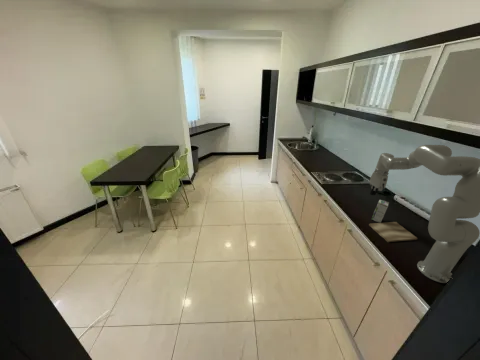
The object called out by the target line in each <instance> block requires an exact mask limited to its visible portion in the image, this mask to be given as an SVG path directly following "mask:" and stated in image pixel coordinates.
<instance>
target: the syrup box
mask: <svg viewBox="0 0 480 360" xmlns="http://www.w3.org/2000/svg"><path fill="white" fill-rule="evenodd" d="M389 204H390V202H389V201H386V200H383V199H379V200H378V202H377V205H376V207H375V209H374V211H373V215H372V217H371V220H372V221H374V222H375V223H382V221H383V219H384V217H385V214H386V212H387V210H388V207H389Z"/></svg>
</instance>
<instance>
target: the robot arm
mask: <svg viewBox="0 0 480 360" xmlns="http://www.w3.org/2000/svg"><path fill="white" fill-rule="evenodd" d="M452 154H453V152H452V149H451V147H449V146H448V145H444V144H424V145H423V144H422V145H420V146H418V147H416V148H415V149H414V151H412V152H411V153H409V154H408V155H409V156H406V157H395V155H394V154H392V153H387V152H384V153H381V154H380V155H379V158H378V161H377V164H376V166H375V168H374V171H373V172H372V174H371V175H370V176H371V177H370V178H369V181H368V182H369V185H370V188H371V191H370V193H369V194H370V195H371V196H376V195H377V193H378V191H379V192H382V191H383V189H386V186H387V184H388V181H389V180H388V178H389V171H390V170H393V171H394V170H398V171H399V170H402V171H403V170H404V171H405V170H410V169H416V168H419V167H421V166H423V167H425V168H426V169H427V170H429V171H431V172H432V173H434V174H436V175H439V176H446V177H447V176H460V177H461V178H460V179H459V180H458V182H457V183H456V185H455V186H454V191H453V192H454V193H453V194H452V196H443V197H440V198H438V199H437V198H436V200H435V201H434V202H433V203H432V205H431V206H432V207H431V211H430V214H429V220H428V226H427V229H428V233H429V236H430V237H431V238H432V239H434V240H435V242H434V243H433V244H432V247H431V248H430V250H429V252H428V254H427V255H426V256H425V258H424V260H419V261H418V262H417V264H416V266H417V269H418V270H419V271H420V272H421V274H422V275H423V276H425V277H426V278H428V279H430V280H432V281H435V282H437V283H441V284H448V283H447V282H448V281H449V280H450V278H452V276H453V273H452V272H451V271H453V269H454V267H455V266H456V265H457V263H458V262H459V260H460V259H461V257H462V256H463V255H464V254H465V252H467V249H469V248H470V247H471V246H472V245H473V244H474V243H476V241H477V240H478V239H479V237H480V229H479V227H478V226H477V225H476V223H474V222H471V221H469V220H466V219H474V218H476V217H478V216H479V215H480V158H477V157H474V156H473V157H472V156H463V155H462V156H460V155H459V156H452Z"/></svg>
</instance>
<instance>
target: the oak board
mask: <svg viewBox="0 0 480 360" xmlns="http://www.w3.org/2000/svg"><path fill="white" fill-rule="evenodd" d="M368 226H369V227H371V228H372V230H373V231H375V232H376V233H377V234H378V235H379V236H380V237H381V238H383V240H385V241H386V242H387V243H391V242H403V241H417V240H418V237H417V236H415V235H414V234H413V233H411V232H410V231H409V230H407V229H406V228H404V227H403V226H402V225H400V224H399V223H398V222H397V221H390V222H387V221H386V222H381V223H379V222H375V223H374V222H373V223H369V224H368Z"/></svg>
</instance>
